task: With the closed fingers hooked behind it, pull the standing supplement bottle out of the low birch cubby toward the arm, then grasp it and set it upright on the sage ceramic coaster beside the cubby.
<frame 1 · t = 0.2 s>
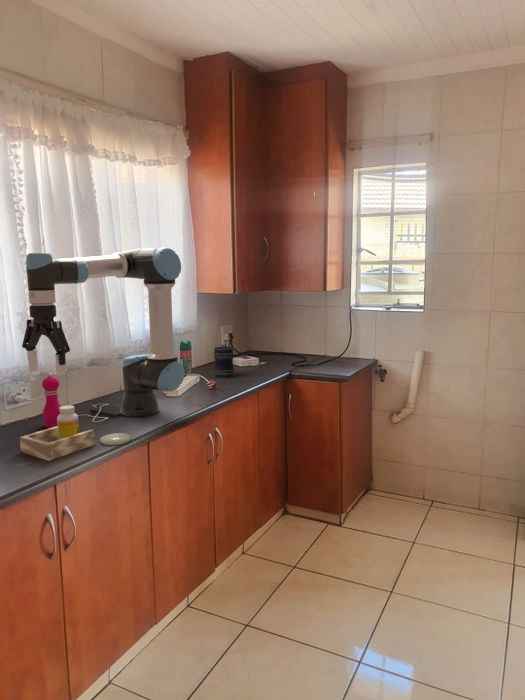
hand: (47, 373, 172), 26 cm above the worktop, fingers open, 13 cm apart
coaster: (115, 440, 188), on the worktop
pepper mill: (54, 425, 206), on the worktop
dark blue canister: (224, 377, 288), on the worktop
cubby: (58, 448, 181), on the worktop
supplement bottle: (69, 445, 184), on the worktop
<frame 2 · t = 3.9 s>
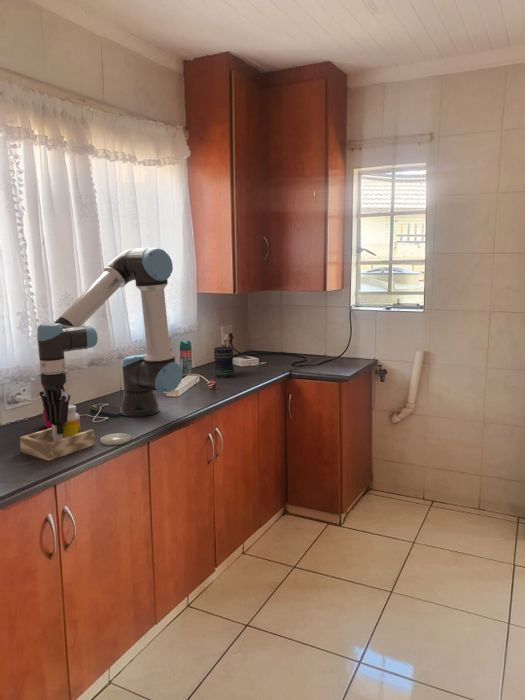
hand: (58, 442, 181), 2 cm above the worktop, fingers closed
supplement bottle: (71, 444, 185), on the worktop, touching gripper
everything else where it was.
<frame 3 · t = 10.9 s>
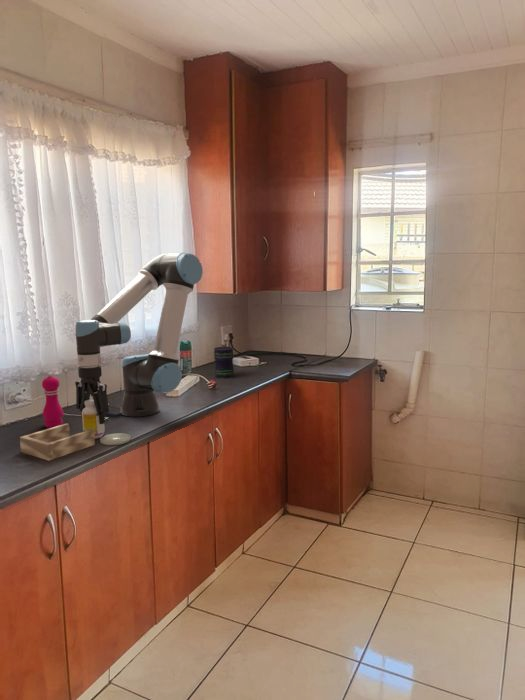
hand: (93, 430, 192), 2 cm above the worktop, fingers closed on supplement bottle, 7 cm apart
supplement bottle: (93, 437, 193), on the worktop, touching gripper
everything else where it was.
when the fingers open (4 cm above the worktop, at t = 16.1 s): supplement bottle drops 1 cm, resting on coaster.
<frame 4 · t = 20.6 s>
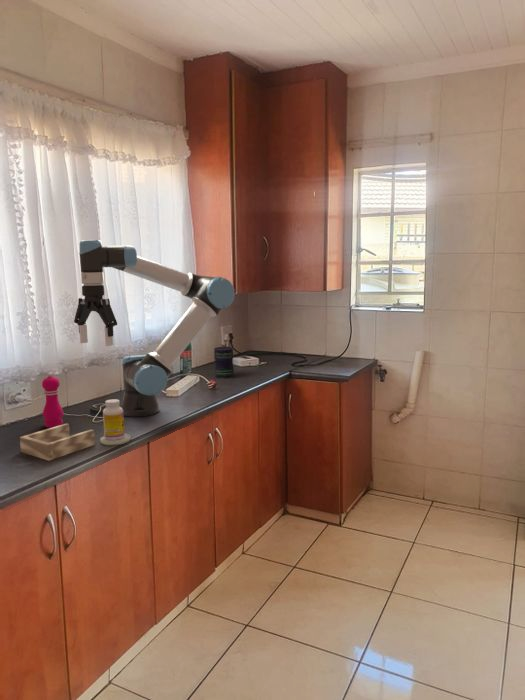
hand: (96, 344, 199), 31 cm above the worktop, fingers open, 13 cm apart
supplement bottle: (114, 438, 188), point 1 cm above the worktop, touching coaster
everything else where it was.
at the end: supplement bottle 0.2 cm off-centre on the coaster, point 0.8 cm above the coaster's base; supplement bottle tilted 0°; the gripper is holding nothing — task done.
